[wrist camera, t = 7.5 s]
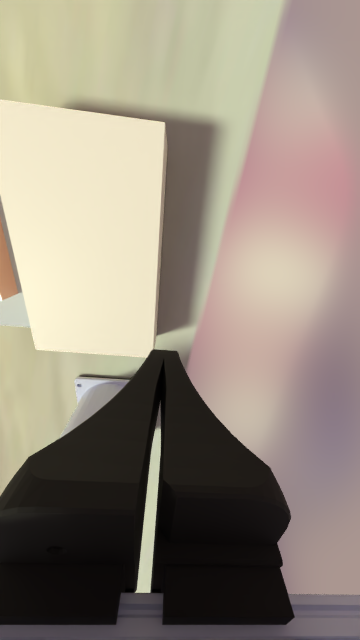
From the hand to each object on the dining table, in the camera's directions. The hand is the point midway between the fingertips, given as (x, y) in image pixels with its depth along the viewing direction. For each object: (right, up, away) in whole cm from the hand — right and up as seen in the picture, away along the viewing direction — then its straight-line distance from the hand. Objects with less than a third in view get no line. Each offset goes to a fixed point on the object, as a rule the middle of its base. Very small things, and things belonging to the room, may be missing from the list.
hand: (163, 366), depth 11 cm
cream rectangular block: (-6, +8, +7) cm, 13 cm away
